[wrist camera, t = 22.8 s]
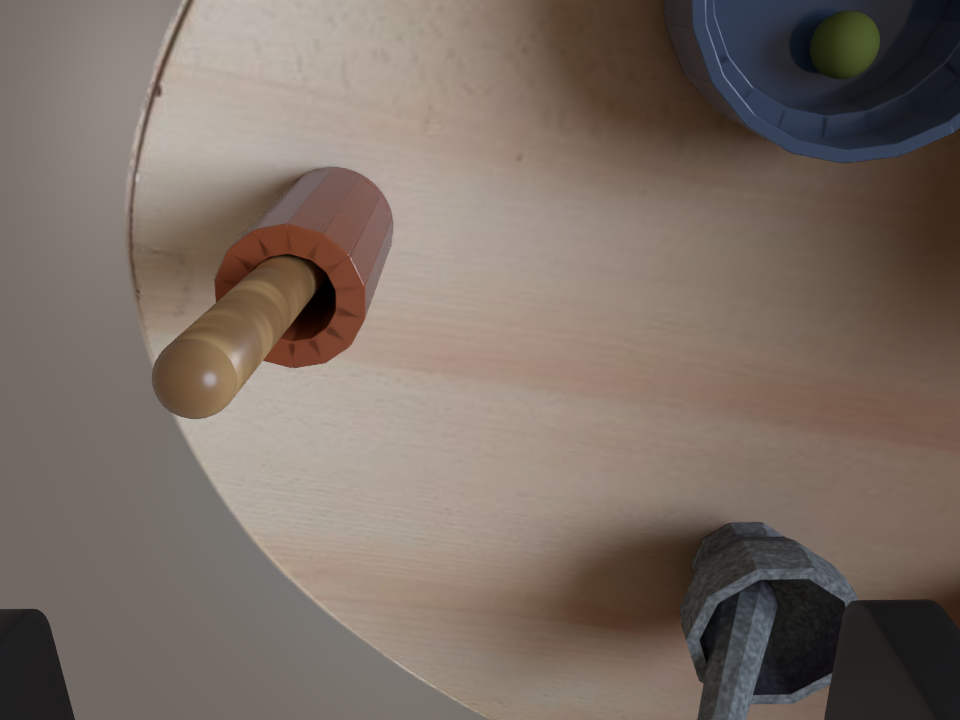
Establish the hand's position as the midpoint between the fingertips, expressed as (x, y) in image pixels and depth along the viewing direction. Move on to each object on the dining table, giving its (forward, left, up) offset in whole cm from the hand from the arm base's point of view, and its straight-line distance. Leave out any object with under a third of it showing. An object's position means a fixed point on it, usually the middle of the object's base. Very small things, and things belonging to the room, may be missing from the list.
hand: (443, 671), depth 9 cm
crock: (-4, -8, -38) cm, 39 cm away
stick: (-4, -8, -37) cm, 38 cm away
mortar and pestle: (+27, -16, -38) cm, 50 cm away
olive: (+13, +12, -36) cm, 40 cm away
